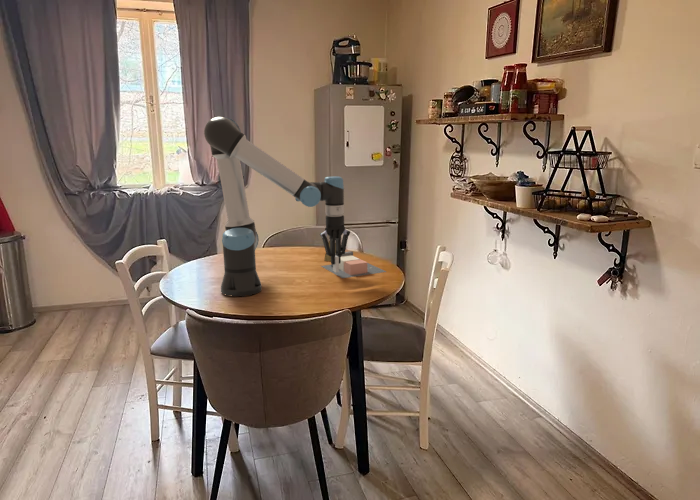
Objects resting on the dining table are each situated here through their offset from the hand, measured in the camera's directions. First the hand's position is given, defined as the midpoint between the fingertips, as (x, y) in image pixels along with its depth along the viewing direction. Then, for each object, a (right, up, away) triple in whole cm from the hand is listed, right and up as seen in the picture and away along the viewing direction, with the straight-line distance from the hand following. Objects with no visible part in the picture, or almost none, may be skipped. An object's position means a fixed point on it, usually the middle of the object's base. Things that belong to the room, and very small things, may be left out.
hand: (335, 271), depth 207 cm
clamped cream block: (+4, +1, +13) cm, 14 cm away
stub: (+8, -1, +5) cm, 10 cm away
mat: (+7, 0, +10) cm, 13 cm away
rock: (-1, +3, +26) cm, 27 cm away
